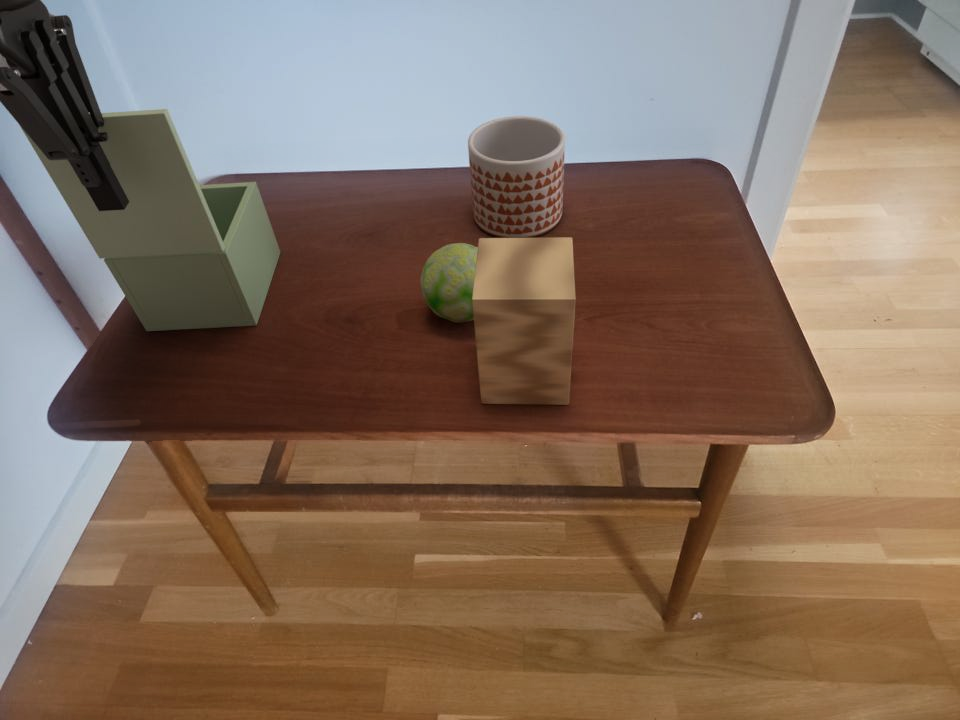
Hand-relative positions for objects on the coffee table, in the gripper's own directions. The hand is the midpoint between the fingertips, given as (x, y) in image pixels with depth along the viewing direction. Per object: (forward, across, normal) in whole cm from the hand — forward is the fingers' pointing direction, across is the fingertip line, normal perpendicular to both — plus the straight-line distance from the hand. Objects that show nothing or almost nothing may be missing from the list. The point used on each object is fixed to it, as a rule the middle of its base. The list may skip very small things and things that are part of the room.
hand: (114, 206), depth 68 cm
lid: (+1, +5, 0) cm, 5 cm away
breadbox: (+22, +12, 0) cm, 25 cm away
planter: (+22, +26, -43) cm, 55 cm away
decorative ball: (+22, +4, -35) cm, 42 cm away
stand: (+22, -7, -42) cm, 48 cm away
